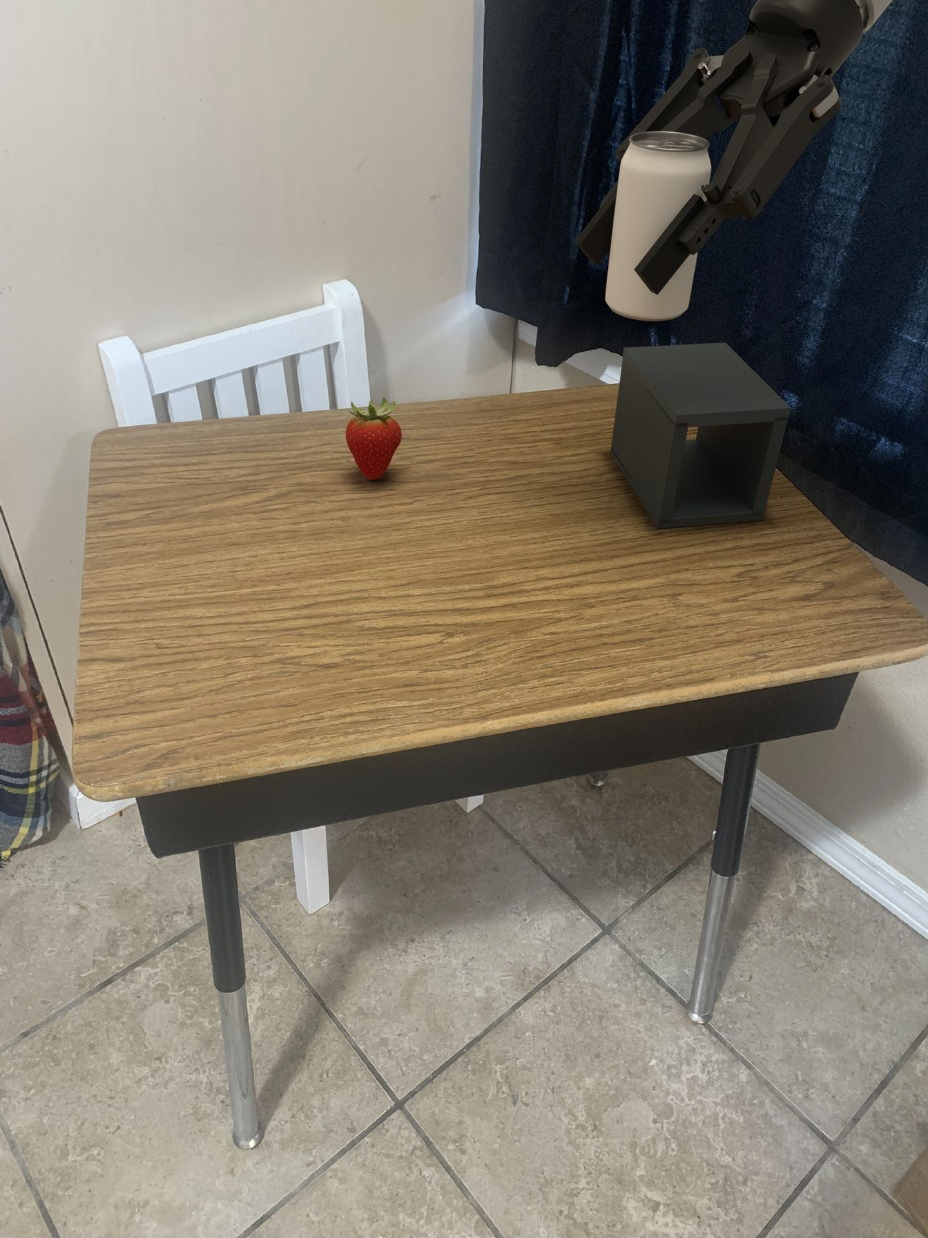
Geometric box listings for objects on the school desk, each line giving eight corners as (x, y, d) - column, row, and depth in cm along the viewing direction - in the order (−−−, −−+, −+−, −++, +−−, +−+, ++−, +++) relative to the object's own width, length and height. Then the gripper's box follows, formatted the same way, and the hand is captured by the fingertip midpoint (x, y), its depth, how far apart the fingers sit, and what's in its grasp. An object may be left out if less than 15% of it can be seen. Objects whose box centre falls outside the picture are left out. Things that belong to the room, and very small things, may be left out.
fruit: (396, 461, 95) (394, 384, 90) (407, 489, 91) (406, 409, 86) (343, 467, 94) (339, 389, 89) (353, 495, 90) (349, 415, 85)
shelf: (763, 520, 88) (791, 407, 81) (657, 529, 86) (676, 414, 80) (704, 447, 99) (725, 342, 92) (609, 453, 97) (623, 347, 90)
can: (603, 290, 79) (621, 127, 72) (684, 294, 79) (710, 131, 71) (605, 320, 74) (624, 148, 67) (691, 325, 74) (720, 152, 66)
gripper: (952, 63, 66) (725, 340, 69) (747, 25, 79) (565, 260, 82) (924, -30, 60) (679, 276, 63) (709, -54, 73) (515, 201, 76)
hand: (615, 266), depth 73 cm, fingers closed on can, 6 cm apart
